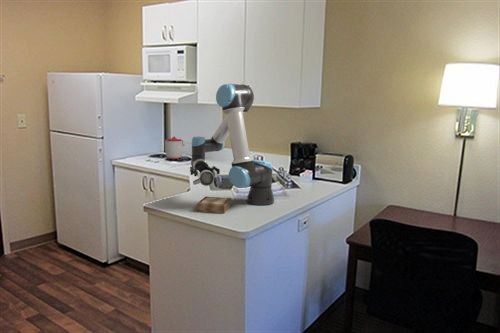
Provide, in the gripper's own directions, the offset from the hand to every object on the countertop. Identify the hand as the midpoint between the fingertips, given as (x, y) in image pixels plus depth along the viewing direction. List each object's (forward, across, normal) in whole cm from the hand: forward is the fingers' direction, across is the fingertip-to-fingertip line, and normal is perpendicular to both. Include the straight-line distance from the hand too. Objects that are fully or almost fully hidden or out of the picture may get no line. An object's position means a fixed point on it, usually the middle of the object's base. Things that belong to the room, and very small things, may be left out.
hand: (207, 174), depth 207 cm
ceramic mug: (-5, +1, -6) cm, 8 cm away
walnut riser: (-2, -4, -18) cm, 19 cm away
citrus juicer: (-158, +2, -17) cm, 159 cm away
